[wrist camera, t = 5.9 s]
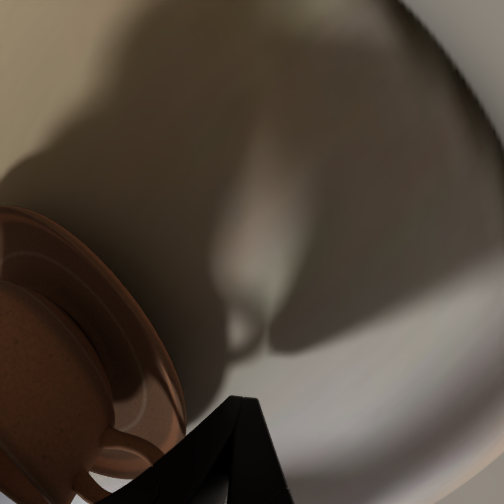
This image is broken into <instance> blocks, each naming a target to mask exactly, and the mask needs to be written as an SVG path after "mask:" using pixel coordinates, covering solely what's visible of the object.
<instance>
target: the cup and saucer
mask: <svg viewBox="0 0 504 504" xmlns="http://www.w3.org/2000/svg"><path fill="white" fill-rule="evenodd" d="M186 425H187V417H186V405H185V400H184V395H183V391H182V388H181V384H180V381H179V378H178V375H177V373H176V370H175V368H174V365H173V363H172V361H171V359H170V357H169V355H168V353H167V351H166V349H165V347H164V344H163V343H162V341H161V339H160V338H159V336H158V334H157V332H156V331H155V329H154V327H153V326H152V324H151V323H150V321H149V320H148V318H147V317H146V315H145V314H144V312H143V310H142V309H141V307H140V306H139V305H138V304H137V302H136V301H135V300H134V298H133V297H132V295H131V294H130V293H129V291H128V290H127V289H126V288H125V287H124V285H123V284H122V283H121V282H120V281H119V279H118V278H117V277H116V276H115V275H114V273H113V272H112V271H111V270H110V269H109V268H108V267H107V266H106V265H105V264H104V263H103V262H102V261H101V259H100V258H99V257H98V256H97V255H96V254H94V253H93V252H92V251H91V250H90V249H89V248H88V247H87V246H86V245H85V244H84V243H83V242H81V241H80V240H79V239H78V238H76V237H75V236H74V235H73V234H71V233H70V232H69V231H68V230H66V229H65V228H63V227H62V226H60V225H59V224H57V223H56V222H54V221H52V220H50V219H49V218H47V217H45V216H43V215H41V214H39V213H36V212H33V211H31V210H28V209H24V208H20V207H14V206H0V492H2V493H3V494H4V495H6V496H7V497H8V498H10V499H11V500H12V501H14V502H15V503H17V504H71V502H72V500H73V499H74V497H75V495H76V494H77V495H79V496H80V497H81V498H82V499H83V500H84V501H86V502H87V503H89V504H94V503H96V502H98V501H99V500H101V499H103V498H105V497H107V496H108V495H110V494H112V493H110V492H108V491H106V490H105V489H103V488H102V487H101V486H100V485H98V484H97V482H96V481H95V480H94V479H93V478H92V477H91V476H90V474H89V471H91V472H94V473H97V474H100V475H104V476H108V477H113V478H119V479H135V478H136V477H138V476H139V475H140V474H142V473H143V472H144V471H145V470H146V469H148V468H149V467H150V466H152V467H153V464H154V463H155V462H156V461H158V460H159V459H160V458H161V457H162V456H163V455H165V454H166V453H167V452H168V451H169V450H171V449H172V448H173V447H174V446H175V445H176V444H177V443H179V442H180V441H181V440H182V439H183V438H184V437H185V436H186Z"/></svg>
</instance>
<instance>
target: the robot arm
mask: <svg viewBox="0 0 504 504" xmlns="http://www.w3.org/2000/svg"><path fill="white" fill-rule="evenodd" d="M227 494H228V496H227ZM226 497H227V504H294V501H293V499H292V496H291V493H290V490H289V489H288V485H287V482H286V480H285V477H284V474H283V471H282V468H281V465H280V463H279V460H278V457H277V454H276V451H275V448H274V445H273V442H272V439H271V436H270V433H269V430H268V427H267V424H266V421H265V418H264V415H263V412H262V409H261V406H260V403H259V400H258V399H257V398H251V397H242V396H233V395H231V396H229V397H228V398H227V399H226V400H225V401H224V402H223V403H222V404H220V405H219V406H218V407H217V408H216V409H215V410H214V411H213V412H212V413H211V414H210V415H209V416H208V417H207V418H205V419H204V420H203V421H202V422H201V423H200V424H199V425H198V426H197V427H196V428H194V429H193V430H192V431H191V432H190V433H189V434H188V435H187V436H185V437H184V438H183V439H182V440H181V441H180V442H179V443H177V444H176V445H175V446H174V447H173V448H172V449H171V450H169V451H168V452H167V453H166V454H165V455H163V456H162V457H161V458H160V459H159V460H158V461H156V462H155V463H154V464H153V467H152V466H150V467H149V468H148V469H146V470H145V471H144V472H143V473H142V474H140V475H139V476H138V477H136V478H135V479H133V480H132V481H131V482H129V483H128V484H127V485H125V486H123V487H122V488H120V489H119V490H117V491H115V492H114V493H112V494H110V495H108V496H107V497H105V498H103V499H101V500H99V501H98V502H96V503H94V504H224V502H225V500H226Z"/></svg>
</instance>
